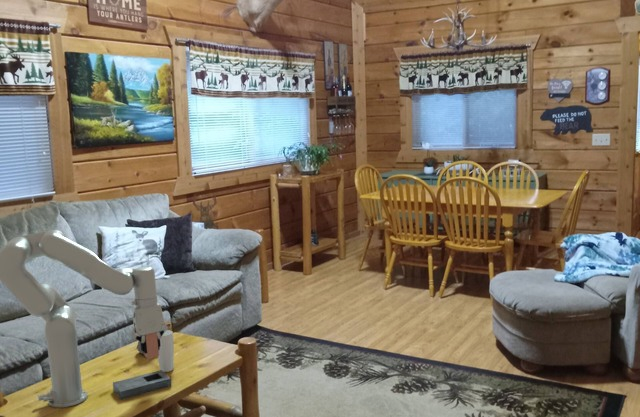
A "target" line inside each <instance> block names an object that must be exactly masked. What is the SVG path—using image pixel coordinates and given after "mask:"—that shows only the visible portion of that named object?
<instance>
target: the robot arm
mask: <svg viewBox="0 0 640 417" xmlns="http://www.w3.org/2000/svg"><path fill="white" fill-rule="evenodd" d="M39 257H46V258H48V259H51V260H52V261H54V262H56V263H58V264H60V265H62V266H63V267H66V268H68V269H70V270H72V271H74V272H76V273H78V274H79V275H81V276H82V277H84V278H85V279H88V280H89V281H90V282H92V283H94V284H95V285H97V286H98V287H100V288H102V289H104V290H106V291H108V292H110V293H112V294H115V295H118V296H125V295H128V294H129V293H131V291H132V290H134V299H133V300H132V301H131V306H134V307H133V315H132V316H133V318H132V319H133V320H132V321H133V322H132V323H133V328H132V329H131V332H130V334H129V337H130V338H132V339H135V340H137V342H139V341H140V342H141V350H142V351H143V352H144V353H147V347H146V342H145V335H148V334H152V333H156V332H157V341H158V350H160V346H161V345H160V339H161V336H162V335H163V334H164V332H165V331H166V330H169V329H168V328H169V326H167V325H166V323H165V319H164V314H163V310H162V305H161V303H159V302H158V294H157V284H156V274H155V270H154V268H153V267H152V266H140V267H137V268H117V269H115V268H113V267H112V266H111V265H109V264H107V263H105V262H104V261H103V260H101V259H100V258H99V256H98V255H97V254H96V253H94V251H92V250H91V249H89V248H86V247H85V246H82V245H81V244H78V243H77V242H75V241H73V240H71V239H69V238H67V236H66V235H65V234H64V233H63V232H62V231H60V230H58V229H49V230H43V231H40V232H35V233H31V234H26V235H21V236H17V237H13V238H11V239H10V240H9V241H8V242H7V243H6V244H5V245H4V246H3V247H2V249H1V250H0V281H1V283H2V284H3V285H4V286H5V288H6V289H7V290H8V291H9V292H10V293H11V294H12V296H13V297H14V298H15V299H16V301H18V302H19V303H20V304H21V305H22V306H23V308H24V309H25V310H26V311H27V313H29V315H32V316H34V317H37V318H40V317H41V318H42V319H43V320H44V322H45V327H44V336H45V340H46V346H47V355H48V362H49V372H50V380H51V382H50V383H51V388H50V389H49V390H50V391H47V393H44V394H43V393H42V394H39V395H37V399H38V402H41V401H43V402H48V405H49V406H51V407H53V408H56V409H57V408H58V409H59V408H60V409H61V408H69V407H73V406H76V405H79V404H81V403H83V402H84V401H85V400H87V398H88V392H87V391H86V390H84V389H83V386H82V385H83V384H82V377H81V376H82V375H81V366H80V364H81V363H80V357H79V356H80V355H79V348H78V347H79V346H78V339H77V329H76V328H77V313H76V312H75V310H74V309H73V308H72V306H71V305H70V304H69V303H68V302H67V301H66V300H65V299H64V297H62V295H61V294H60V293H59V292H58V291H57V290H56V289H55V288H54V287H53V286H52V285H50V284H48V283H42V282H41V283H40V282H39V281H38V279H36V278H35V276H34V275H33V274H32V273H30V272H29V271H28V270H27V268H26V263H27V262H28V260H30V259H31V260H32V259H35V258H39Z"/></svg>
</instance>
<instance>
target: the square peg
mask: <svg viewBox="0 0 640 417" xmlns="http://www.w3.org/2000/svg"><path fill="white" fill-rule="evenodd" d="M145 342H146V347H147V353H144V354H145V355H144V357H145V358H146V359H148V360H150V359H154V358H158V357H159V351H158V341H157V332H156V333H152V334H148V335H145Z"/></svg>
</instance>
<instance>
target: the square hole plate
mask: <svg viewBox="0 0 640 417" xmlns="http://www.w3.org/2000/svg"><path fill="white" fill-rule="evenodd" d="M170 387H172V379H171V377H170V376H169V375H167V373H166V372H163V371H162V370H160V369H159V370H156V371H152V372H149V373H144V374H142V375H137V376H133V377H129V378H125V379H121V380H118V381H113V382H112V389H113V392H114V393H115V394H116V395H117V397H118V398H119V399H120V400H121V401H122V400H127V399H130V398H134V397H138V396H141V395H144V394H147V393H148V394H149V393H152V392H155V391H159V390H162V389H166V388H170Z"/></svg>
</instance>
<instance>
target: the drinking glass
mask: <svg viewBox="0 0 640 417" xmlns="http://www.w3.org/2000/svg"><path fill="white" fill-rule="evenodd" d="M174 344H175V343H174V332H173V331H172V330H171V329H167V330H166V331H165V332H164V334H163V335H162V336H161V339H160V345H161V346H160V350H158V351H159V357H157V359H158V367H159V371H160V370H162V371H163V372H164V373H169V372H172V371H173V370H174V369H175V366H174V364H175V363H174V360H175V359H174V350H175V348H174Z"/></svg>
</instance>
